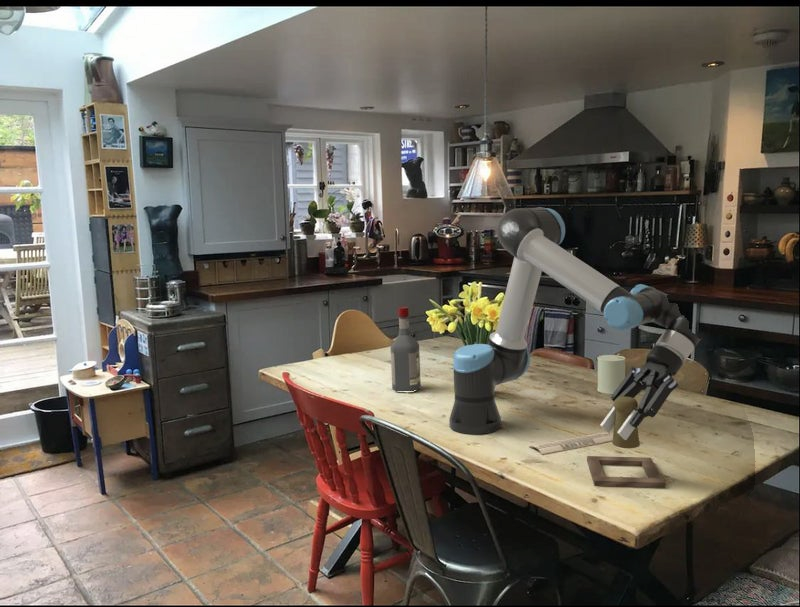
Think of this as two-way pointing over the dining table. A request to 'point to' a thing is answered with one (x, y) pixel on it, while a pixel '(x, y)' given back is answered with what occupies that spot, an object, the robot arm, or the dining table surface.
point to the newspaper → (573, 443)
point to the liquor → (405, 357)
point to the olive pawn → (623, 411)
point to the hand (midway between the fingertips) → (612, 432)
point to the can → (610, 373)
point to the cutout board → (600, 480)
